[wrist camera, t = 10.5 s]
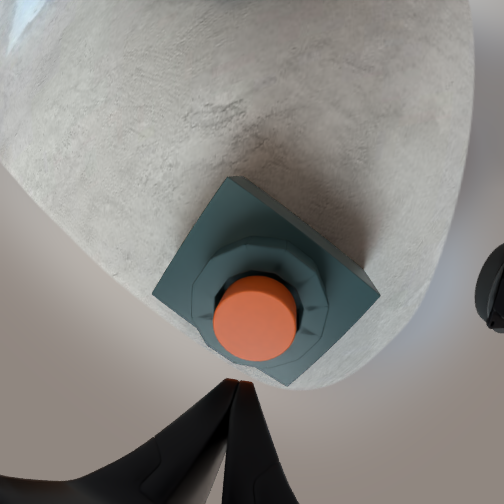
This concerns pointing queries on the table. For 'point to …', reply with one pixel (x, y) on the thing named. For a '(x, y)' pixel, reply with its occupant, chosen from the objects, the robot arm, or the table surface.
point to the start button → (256, 318)
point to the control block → (266, 274)
